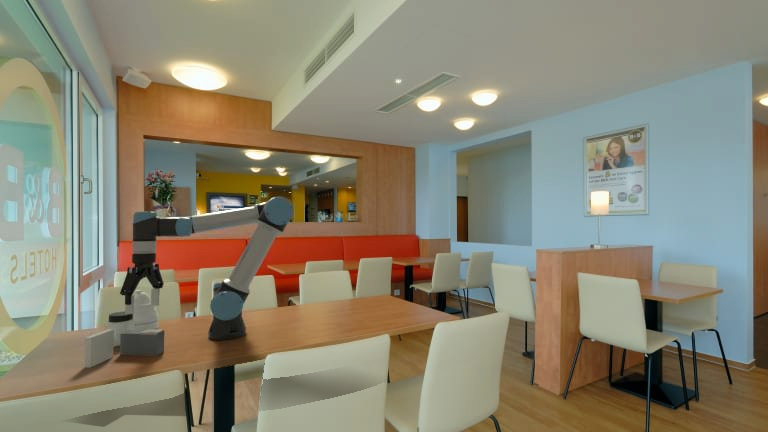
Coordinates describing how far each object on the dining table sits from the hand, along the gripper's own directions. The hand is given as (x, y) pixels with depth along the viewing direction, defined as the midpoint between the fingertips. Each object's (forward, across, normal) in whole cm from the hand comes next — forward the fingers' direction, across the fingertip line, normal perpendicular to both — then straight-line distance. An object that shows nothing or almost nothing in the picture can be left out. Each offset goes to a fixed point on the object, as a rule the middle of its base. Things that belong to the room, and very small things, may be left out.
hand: (142, 309), depth 138 cm
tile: (+16, +9, -9) cm, 21 cm away
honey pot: (+17, -32, -23) cm, 43 cm away
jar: (+17, -11, -17) cm, 26 cm away
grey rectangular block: (+16, 0, 0) cm, 17 cm away
